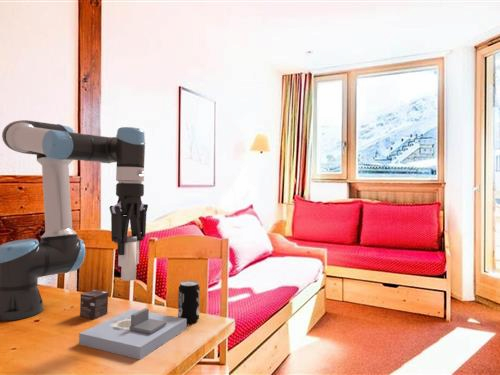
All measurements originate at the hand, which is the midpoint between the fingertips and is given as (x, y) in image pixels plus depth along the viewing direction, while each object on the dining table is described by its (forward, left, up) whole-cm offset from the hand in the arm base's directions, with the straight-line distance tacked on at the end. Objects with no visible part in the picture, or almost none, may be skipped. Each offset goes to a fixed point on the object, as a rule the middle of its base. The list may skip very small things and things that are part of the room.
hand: (128, 264), depth 103 cm
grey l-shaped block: (+7, 0, -17) cm, 18 cm away
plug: (0, 0, -4) cm, 4 cm away
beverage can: (+10, +17, -20) cm, 28 cm away
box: (-20, +8, -20) cm, 29 cm away
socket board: (+3, 0, -20) cm, 20 cm away
